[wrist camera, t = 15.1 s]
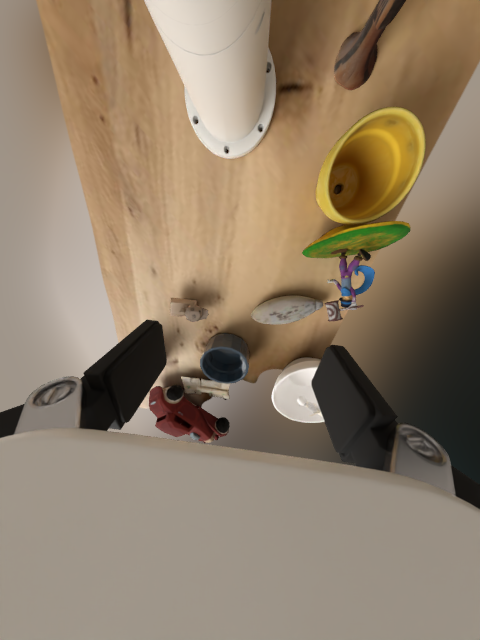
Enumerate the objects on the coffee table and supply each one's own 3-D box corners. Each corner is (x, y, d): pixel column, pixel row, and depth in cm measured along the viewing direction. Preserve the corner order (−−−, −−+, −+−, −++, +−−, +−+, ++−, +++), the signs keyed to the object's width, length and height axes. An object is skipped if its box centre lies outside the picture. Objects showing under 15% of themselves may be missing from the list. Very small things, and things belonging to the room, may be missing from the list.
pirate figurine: (443, 189, 18) (432, 327, 20) (382, 230, 30) (379, 314, 32) (304, 216, 22) (307, 329, 24) (299, 243, 34) (301, 317, 36)
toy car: (208, 427, 65) (198, 459, 56) (147, 388, 56) (125, 419, 48) (235, 419, 58) (229, 454, 50) (171, 372, 49) (150, 405, 41)
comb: (181, 371, 50) (186, 389, 56) (178, 379, 48) (183, 396, 54) (231, 379, 49) (230, 395, 55) (230, 386, 47) (229, 403, 53)
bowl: (343, 391, 49) (358, 419, 42) (276, 399, 53) (279, 425, 46) (341, 337, 41) (359, 360, 34) (262, 351, 45) (263, 374, 38)
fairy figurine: (293, 410, 37) (323, 430, 36) (312, 392, 34) (345, 414, 32) (296, 390, 42) (322, 407, 41) (313, 373, 39) (341, 391, 38)
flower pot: (350, 231, 30) (388, 232, 22) (295, 218, 30) (311, 214, 22) (385, 155, 26) (452, 118, 17) (319, 139, 25) (353, 92, 17)
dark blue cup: (206, 329, 43) (200, 343, 38) (252, 335, 43) (251, 350, 37) (206, 363, 48) (200, 380, 43) (246, 369, 48) (245, 386, 43)
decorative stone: (320, 312, 38) (326, 319, 35) (254, 324, 41) (254, 331, 38) (319, 287, 36) (326, 292, 33) (248, 301, 38) (248, 307, 35)
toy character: (203, 312, 43) (208, 325, 38) (169, 309, 40) (169, 323, 35) (206, 297, 41) (211, 309, 36) (171, 293, 38) (171, 306, 33)
